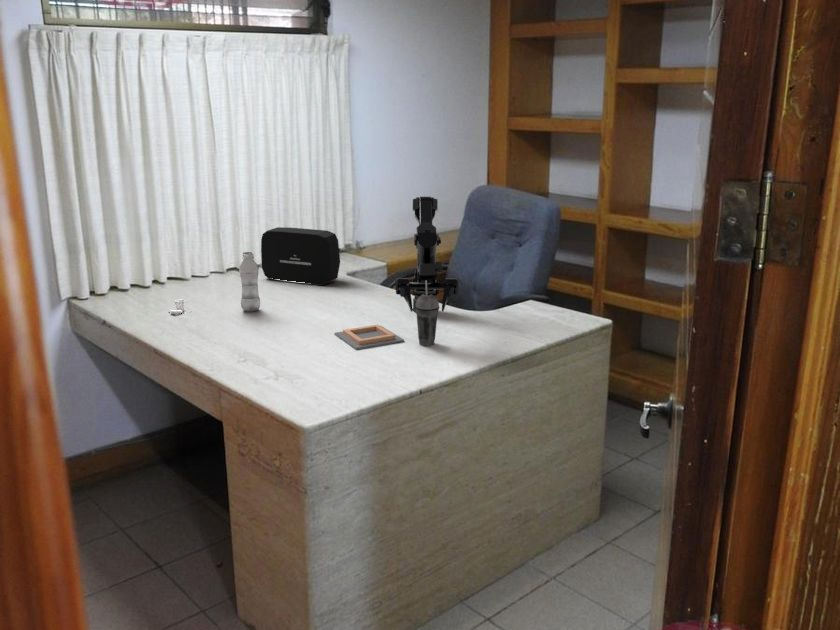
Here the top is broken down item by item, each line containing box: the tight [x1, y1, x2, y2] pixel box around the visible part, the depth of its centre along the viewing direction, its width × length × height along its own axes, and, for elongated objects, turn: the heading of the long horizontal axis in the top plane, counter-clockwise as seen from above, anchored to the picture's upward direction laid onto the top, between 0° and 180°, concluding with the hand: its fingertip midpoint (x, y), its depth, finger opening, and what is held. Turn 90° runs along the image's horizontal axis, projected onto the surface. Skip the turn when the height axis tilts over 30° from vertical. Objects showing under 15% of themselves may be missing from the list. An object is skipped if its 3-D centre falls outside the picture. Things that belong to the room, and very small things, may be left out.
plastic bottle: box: [238, 251, 261, 312], centre depth 262 cm, size 6×7×20 cm
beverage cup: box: [415, 280, 440, 347], centre depth 230 cm, size 7×7×20 cm
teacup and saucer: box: [170, 298, 186, 315], centre depth 263 cm, size 9×8×4 cm
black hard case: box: [260, 226, 341, 286], centre depth 303 cm, size 30×12×20 cm, turn 69°
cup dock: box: [334, 324, 405, 351], centre depth 237 cm, size 16×16×2 cm
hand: (427, 311), depth 230 cm, fingers open, 9 cm apart
